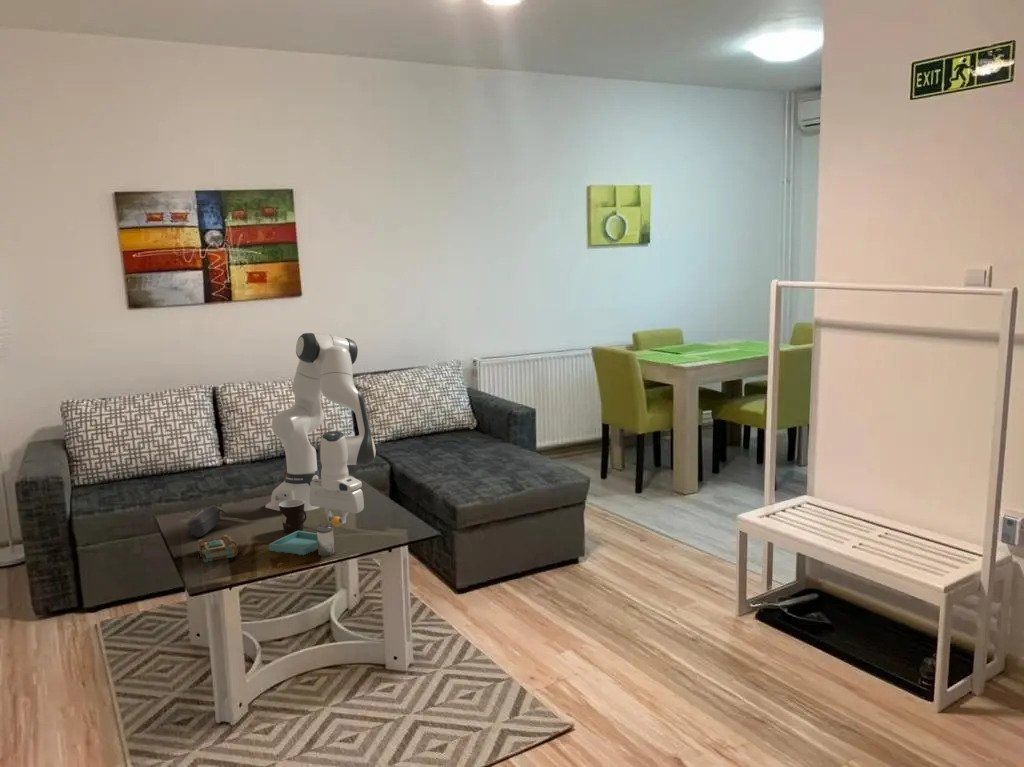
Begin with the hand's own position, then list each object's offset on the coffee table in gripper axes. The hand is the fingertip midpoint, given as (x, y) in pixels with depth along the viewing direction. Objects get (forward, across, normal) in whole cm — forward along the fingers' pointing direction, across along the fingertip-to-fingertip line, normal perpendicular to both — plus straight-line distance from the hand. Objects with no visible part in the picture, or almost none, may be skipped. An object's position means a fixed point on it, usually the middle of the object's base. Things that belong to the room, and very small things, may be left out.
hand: (336, 521), depth 271 cm
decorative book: (+8, -32, -23) cm, 41 cm away
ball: (+2, 0, 0) cm, 2 cm away
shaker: (+7, +4, -10) cm, 13 cm away
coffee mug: (+8, -21, +2) cm, 22 cm away
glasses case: (+9, -50, -9) cm, 52 cm away
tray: (+7, -8, -8) cm, 14 cm away
